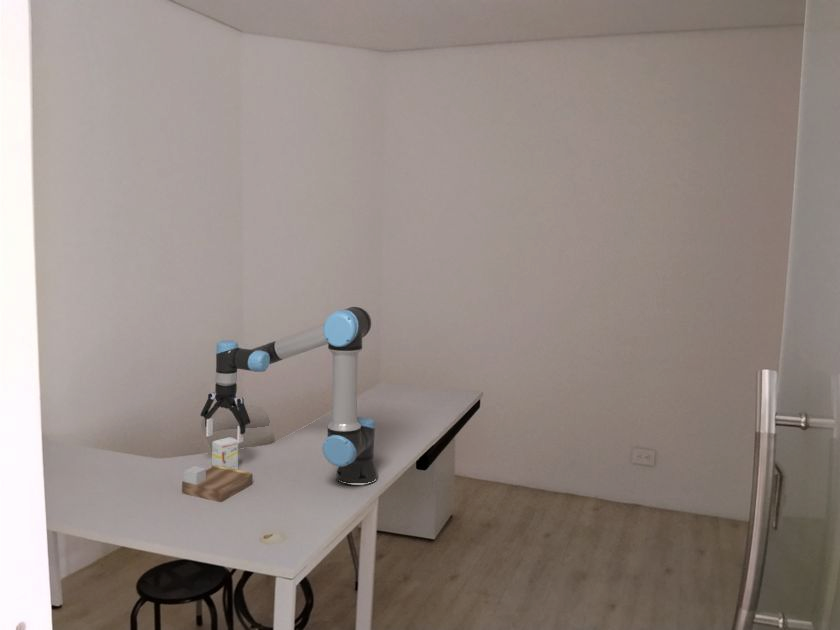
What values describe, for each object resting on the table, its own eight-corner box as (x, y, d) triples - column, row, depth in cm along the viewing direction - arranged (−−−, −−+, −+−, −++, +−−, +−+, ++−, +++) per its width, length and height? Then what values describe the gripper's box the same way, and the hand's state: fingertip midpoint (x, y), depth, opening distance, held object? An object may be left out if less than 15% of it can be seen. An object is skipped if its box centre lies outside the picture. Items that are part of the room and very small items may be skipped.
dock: (252, 484, 257) (252, 473, 257) (221, 502, 241) (221, 490, 240) (214, 476, 263) (215, 465, 262) (182, 493, 246) (182, 481, 246)
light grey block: (205, 479, 249) (205, 468, 248) (196, 484, 244) (196, 473, 244) (193, 477, 251) (193, 466, 250) (184, 481, 246) (184, 470, 245)
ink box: (219, 475, 264) (219, 444, 262) (211, 472, 267) (211, 441, 265) (238, 470, 270) (239, 439, 269) (230, 466, 273) (230, 436, 272)
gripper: (261, 385, 263) (259, 441, 266) (204, 375, 271) (203, 430, 275) (249, 390, 256) (247, 447, 259) (191, 379, 265) (190, 435, 268)
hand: (224, 438), depth 267 cm, fingers open, 13 cm apart
